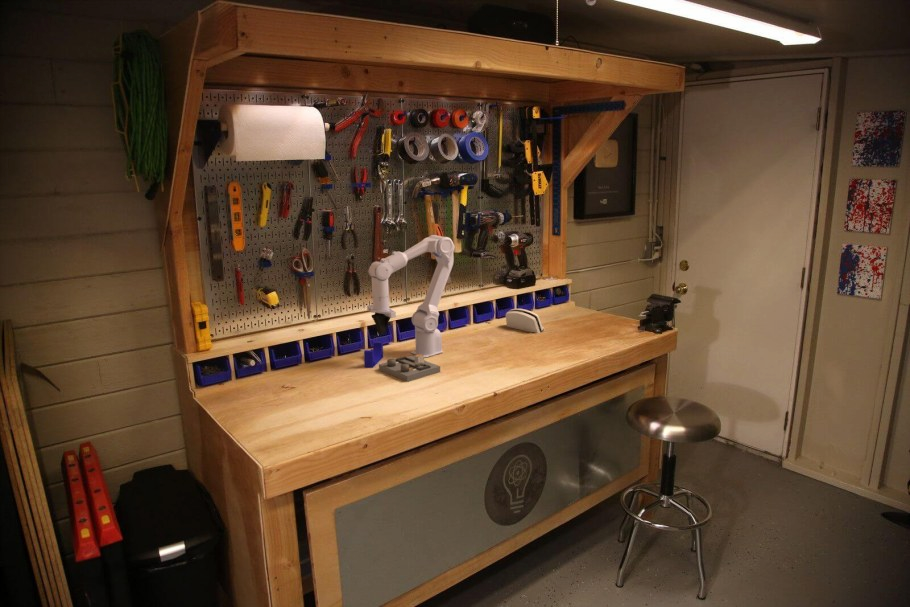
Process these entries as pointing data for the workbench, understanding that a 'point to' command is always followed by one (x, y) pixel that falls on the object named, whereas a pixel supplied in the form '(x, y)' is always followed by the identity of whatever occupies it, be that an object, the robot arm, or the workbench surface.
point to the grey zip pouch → (524, 320)
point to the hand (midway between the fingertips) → (382, 333)
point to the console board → (411, 373)
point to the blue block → (373, 355)
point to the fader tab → (419, 360)
